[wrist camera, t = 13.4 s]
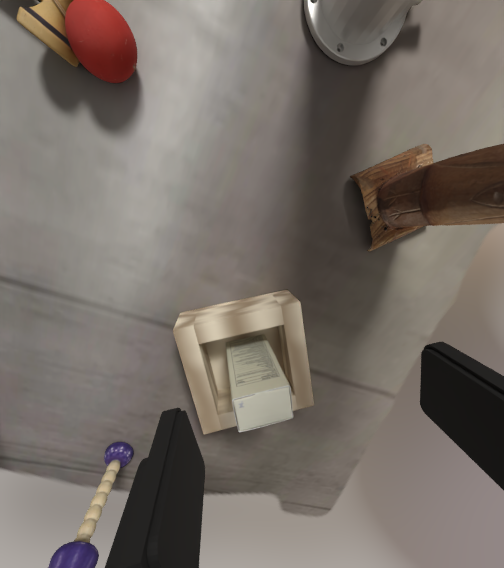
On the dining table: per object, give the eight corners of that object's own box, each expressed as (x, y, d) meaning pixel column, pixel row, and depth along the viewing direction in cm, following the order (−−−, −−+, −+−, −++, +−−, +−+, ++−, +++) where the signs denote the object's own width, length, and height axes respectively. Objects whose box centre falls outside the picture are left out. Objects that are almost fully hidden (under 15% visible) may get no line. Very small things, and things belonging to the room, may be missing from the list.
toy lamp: (108, 437, 37) (25, 597, 21) (139, 440, 38) (82, 597, 22) (103, 461, 38) (20, 632, 22) (133, 464, 39) (75, 630, 23)
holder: (286, 289, 35) (300, 302, 30) (300, 379, 40) (314, 405, 34) (180, 312, 34) (172, 330, 28) (206, 402, 38) (203, 434, 32)
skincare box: (229, 366, 36) (235, 435, 24) (224, 341, 35) (228, 400, 23) (270, 358, 37) (295, 420, 25) (266, 332, 36) (290, 386, 24)
